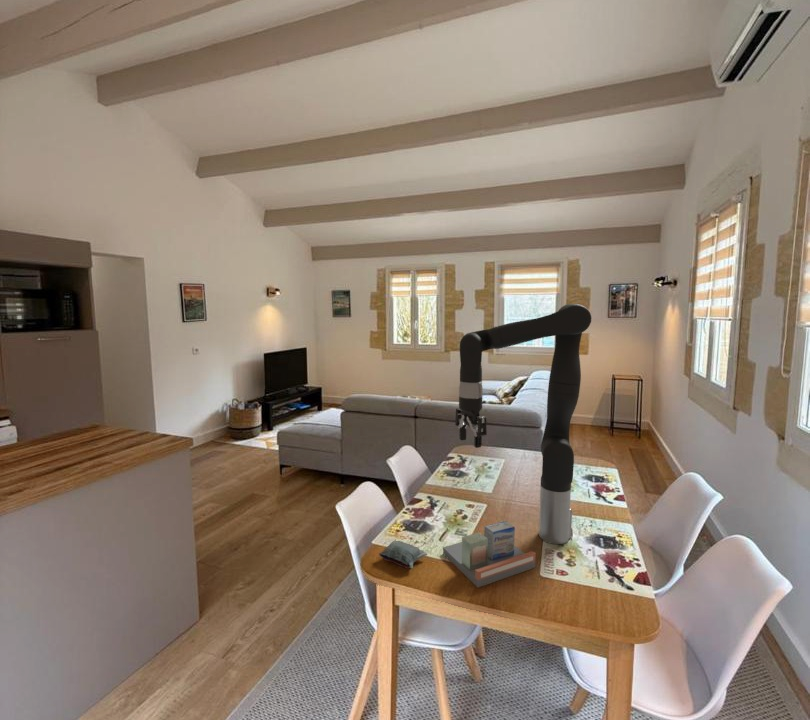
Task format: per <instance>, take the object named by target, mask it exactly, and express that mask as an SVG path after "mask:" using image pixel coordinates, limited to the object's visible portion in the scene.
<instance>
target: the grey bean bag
mask: <svg viewBox="0 0 810 720" xmlns="http://www.w3.org/2000/svg"><path fill="white" fill-rule="evenodd" d="M378 554H379V556H380V557H382V558H383V559H384V560H385V561H387V562H390V563H395V564H396V565H398V566H401V567H403V568H405V569H414V563H416V562H417V561H418V560H420V559H422V558H423V557H425V556H426V557H427V556H428V553H427V552H425V550H422V549H420V548H419V547H418V546H415V545H412V544H410V543H407V542H404V541H401V540H396V539H394V540H392V542H390V543H389V544H388V546H387V547H386V548H384V550H383V551H380V552H379V553H378Z"/></svg>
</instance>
